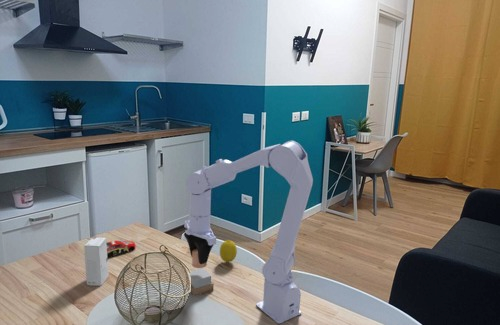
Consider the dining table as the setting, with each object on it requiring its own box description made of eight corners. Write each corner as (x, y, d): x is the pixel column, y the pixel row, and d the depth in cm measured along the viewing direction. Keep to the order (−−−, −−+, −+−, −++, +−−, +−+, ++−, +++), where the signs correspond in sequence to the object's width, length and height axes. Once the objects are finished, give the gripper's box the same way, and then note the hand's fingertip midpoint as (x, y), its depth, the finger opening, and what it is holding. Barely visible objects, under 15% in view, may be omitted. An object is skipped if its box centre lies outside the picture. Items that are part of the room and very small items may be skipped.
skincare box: (101, 286, 104) (99, 246, 101) (85, 285, 103) (83, 245, 101) (109, 275, 110) (107, 237, 107) (93, 274, 110) (92, 236, 107)
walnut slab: (213, 291, 104) (213, 283, 104) (194, 298, 101) (194, 289, 100) (203, 282, 109) (203, 274, 108) (184, 287, 105) (184, 280, 105)
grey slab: (211, 283, 103) (211, 275, 103) (195, 288, 101) (195, 280, 100) (202, 275, 107) (202, 268, 107) (187, 280, 105) (187, 272, 104)
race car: (131, 245, 131) (131, 234, 130) (138, 250, 127) (138, 239, 126) (93, 255, 122) (93, 243, 121) (100, 261, 118) (99, 249, 117)
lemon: (237, 259, 123) (238, 237, 121) (235, 267, 118) (235, 244, 116) (221, 258, 123) (221, 235, 122) (218, 265, 118) (218, 242, 116)
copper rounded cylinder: (209, 265, 103) (209, 252, 102) (196, 269, 100) (196, 255, 100) (202, 260, 106) (202, 247, 105) (189, 263, 104) (189, 250, 103)
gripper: (174, 208, 103) (174, 252, 106) (199, 225, 92) (199, 274, 95) (197, 204, 107) (196, 247, 110) (223, 219, 96) (222, 267, 99)
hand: (199, 259), depth 103 cm, fingers closed on copper rounded cylinder, 4 cm apart
